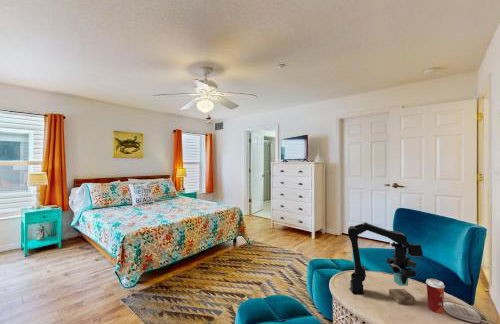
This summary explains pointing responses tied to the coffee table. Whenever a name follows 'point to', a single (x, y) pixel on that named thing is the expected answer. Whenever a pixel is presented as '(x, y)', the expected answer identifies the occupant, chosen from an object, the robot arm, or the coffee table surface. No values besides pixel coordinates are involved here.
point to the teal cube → (399, 280)
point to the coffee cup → (435, 295)
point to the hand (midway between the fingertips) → (400, 281)
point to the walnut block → (401, 296)
